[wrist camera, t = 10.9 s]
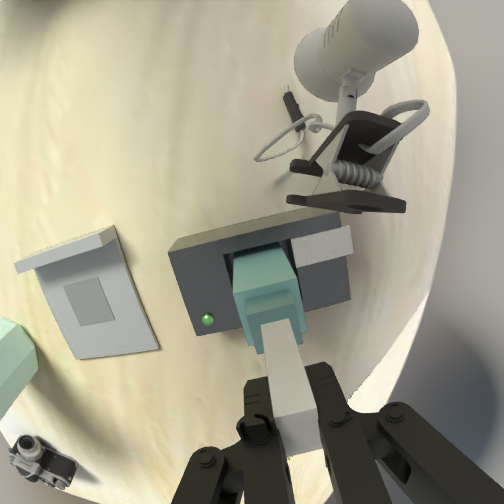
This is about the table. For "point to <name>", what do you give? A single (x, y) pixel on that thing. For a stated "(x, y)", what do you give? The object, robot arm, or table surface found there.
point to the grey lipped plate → (92, 295)
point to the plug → (266, 292)
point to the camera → (42, 463)
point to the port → (252, 235)
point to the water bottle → (14, 362)
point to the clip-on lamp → (352, 105)
